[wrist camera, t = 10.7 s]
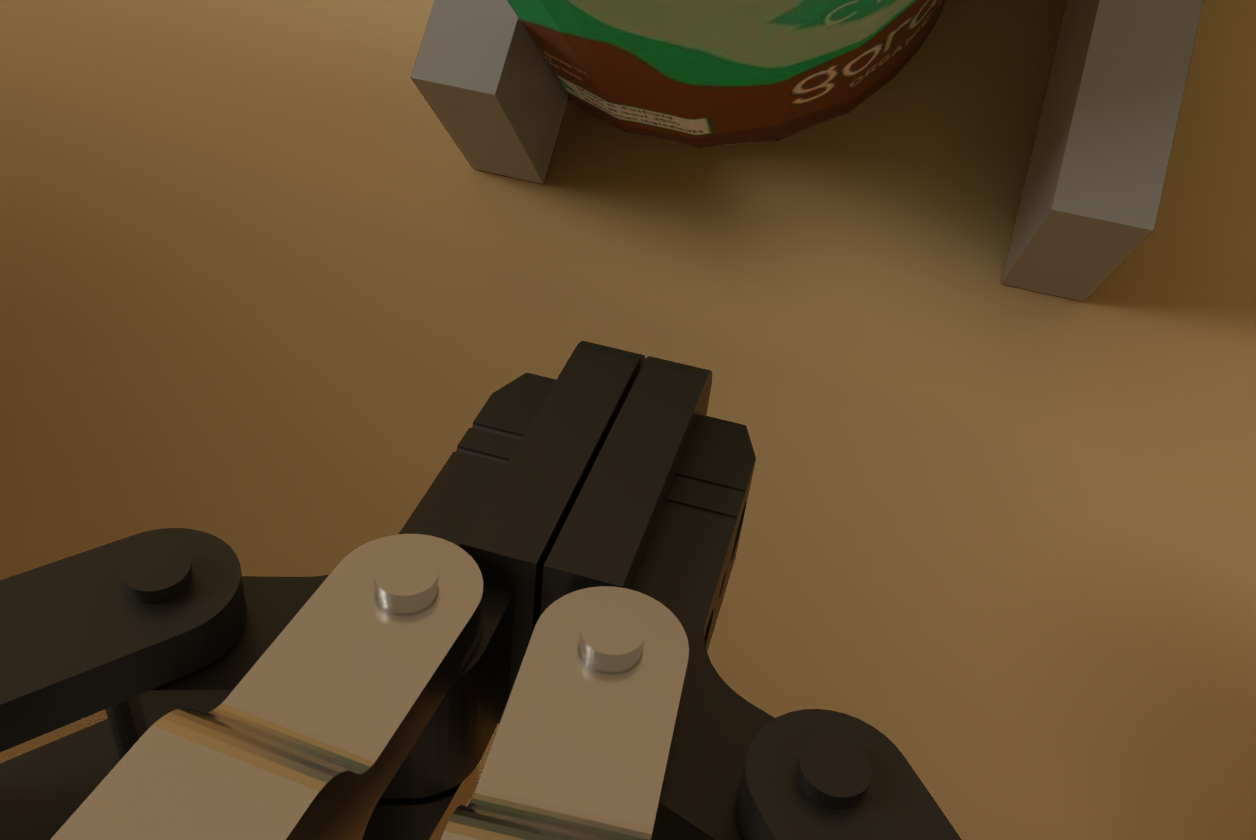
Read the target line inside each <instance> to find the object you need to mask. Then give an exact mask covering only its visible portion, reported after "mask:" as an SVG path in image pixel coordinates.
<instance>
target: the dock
mask: <svg viewBox="0 0 1256 840" xmlns="http://www.w3.org/2000/svg"><path fill="white" fill-rule="evenodd" d="M1203 1H1204V0H1067V4H1066V8H1065V13H1064V17H1063V21H1062V25H1061V30H1060V34H1059V38H1058V43H1057V47H1056V51H1055V55H1054V60H1053V64H1052V68H1051V72H1050V77H1049V81H1048V85H1047V90H1046V94H1045V98H1044V102H1043V107H1042V111H1041V115H1040V119H1039V124H1038V128H1037V132H1036V137H1035V141H1034V145H1033V149H1032V154H1031V158H1030V162H1029V166H1028V171H1027V175H1026V179H1025V183H1024V188H1023V192H1022V196H1021V201H1020V205H1019V209H1018V213H1017V218H1016V222H1015V226H1014V230H1013V235H1012V239H1011V243H1010V248H1009V252H1008V256H1007V260H1006V265H1005V269H1004V273H1003V277H1002V282H1001V284H1004V285H1008V286H1013V287H1018V288H1022V289H1027V290H1031V291H1036V292H1040V293H1045V294H1050V295H1054V296H1059V297H1063V298H1068V299H1073V300H1077V301H1082V302H1084V301H1085V300H1086V299H1087V298H1088V297H1089V296H1090V295H1091V294H1092V293H1093V292H1094V291H1095V290H1096V289H1097V288H1098V287H1099V286H1100V285H1101V284H1102V283H1103V282H1104V281H1105V280H1106V279H1107V278H1108V277H1109V275H1110V274H1111V273H1112V272H1113V271H1114V270H1115V269H1116V268H1117V267H1118V266H1119V265H1120V264H1121V263H1122V262H1123V261H1124V260H1125V259H1126V258H1127V257H1128V256H1129V255H1130V254H1131V253H1132V252H1133V251H1134V250H1135V249H1136V248H1137V247H1138V246H1139V245H1140V244H1141V243H1142V242H1143V241H1144V240H1145V239H1146V238H1147V237H1148V236H1149V235H1150V234H1151V233H1152V232H1153V231H1154V227H1155V222H1156V217H1157V213H1158V208H1159V204H1160V199H1161V194H1162V190H1163V185H1164V181H1165V176H1166V171H1167V167H1168V162H1169V158H1170V153H1171V148H1172V144H1173V139H1174V135H1175V130H1176V126H1177V121H1178V116H1179V112H1180V107H1181V103H1182V98H1183V93H1184V89H1185V84H1186V80H1187V75H1188V70H1189V66H1190V61H1191V57H1192V52H1193V47H1194V43H1195V38H1196V34H1197V29H1198V24H1199V20H1200V15H1201V11H1202V6H1203ZM411 79H412V80H413V82H414V83H415V85H416V86H417V88H418V89H419V91H420V92H421V94H422V95H423V96H424V98H425V99H426V101H427V102H428V104H429V105H430V107H431V108H432V110H433V111H434V113H435V114H436V115H437V117H438V118H439V120H440V121H441V123H442V124H443V126H444V127H445V129H446V130H447V132H448V133H449V134H450V136H451V137H452V139H453V140H454V142H455V143H456V145H457V146H458V148H459V149H460V151H461V152H462V153H463V155H464V156H465V158H466V159H467V161H468V162H469V164H470V165H471V167H472V168H473V169H476V170H481V171H486V172H490V173H495V174H499V175H504V176H508V177H513V178H518V179H522V180H527V181H531V182H536V183H541V184H544V180H545V177H546V174H547V170H548V167H549V163H550V160H551V157H552V153H553V150H554V146H555V143H556V139H557V136H558V133H559V129H560V126H561V122H562V119H563V115H564V112H565V109H566V105H567V102H568V98H569V94H568V92H567V91H566V89H565V88H564V86H563V84H562V83H561V81H560V80H559V78H558V77H557V75H556V74H555V72H554V71H553V69H552V68H551V66H550V65H549V63H548V62H547V60H546V59H545V57H544V56H543V54H542V53H541V51H540V50H539V48H538V47H537V45H536V44H535V42H534V41H533V39H532V38H531V36H530V35H529V33H528V32H527V30H526V29H525V27H524V26H523V24H522V23H521V21H520V20H519V18H518V16H517V15H516V13H515V12H514V10H513V9H512V7H511V6H510V4H509V3H508V1H507V0H435V1H434V4H433V7H432V10H431V14H430V17H429V20H428V23H427V26H426V30H425V33H424V36H423V39H422V42H421V46H420V49H419V52H418V55H417V58H416V62H415V65H414V68H413V71H412V75H411Z"/></svg>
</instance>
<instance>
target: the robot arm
mask: <svg viewBox="0 0 1256 840" xmlns="http://www.w3.org/2000/svg"><path fill="white" fill-rule="evenodd" d="M711 383H712V371H710V370H706V369H701V368H697V367H693V366H689V365H684V364H680V363H676V362H672V361H667V360H663V359H659V358H655V357H650V356H649V357H647V359H646V358H645V355H641V354H637V353H632V352H628V351H624V350H620V349H615V348H611V347H607V346H603V345H598V344H594V343H590V342H586V341H581V342H580V343H579V344H578V345H577V347H576V348H575V350H574V352H573V353H572V355H571V357H570V358H569V360H568V362H567V363H566V365H565V367H564V368H563V370H562V372H561V373H560V375H559V377H558V379H557V380H555V379H551V378H546V377H542V376H538V375H534V374H530V373H525V374H524V375H522V376H520V377H519V378H517V379H515V380H514V381H512V382H510V383H509V384H507V385H506V386H504V387H502V388H501V389H499V390H497V391H496V392H494V393H492V395H491V396H490V398H489V399H488V401H487V402H486V404H485V405H484V407H483V408H482V410H481V411H480V413H479V414H478V416H477V417H476V419H475V420H474V422H473V426H472V428H469V429H468V431H467V432H466V434H465V435H464V437H463V438H462V440H461V441H460V443H459V444H458V447H457V451H456V452H453V453H452V455H451V456H450V458H449V459H448V461H447V462H446V464H445V465H444V467H443V468H442V470H441V471H440V473H439V474H438V476H437V477H436V479H435V480H434V482H433V483H432V485H431V486H430V488H429V489H428V491H427V492H426V494H425V495H424V497H423V498H422V500H421V501H420V503H419V504H418V506H417V507H416V509H415V510H414V512H413V513H412V515H411V516H410V518H409V520H408V521H407V523H406V524H405V526H404V527H403V529H402V530H401V532H400V533H399V534H398V535H391V536H386V537H382V538H378V539H376V540H373V541H370V542H368V543H366V544H364V545H362V546H360V547H358V548H356V549H355V550H353V551H352V552H351V553H349V554H348V555H347V556H346V557H345V558H344V559H343V560H342V561H341V562H340V563H339V564H338V565H337V566H336V568H335V569H334V570H333V571H332V572H331V574H330V575H324V576H318V577H244V576H242V575H241V568H240V563H239V560H238V558H237V556H236V554H235V552H234V551H233V550H232V549H231V547H230V546H229V545H227V544H226V543H225V542H224V541H222V540H221V539H219V538H217V537H215V536H213V535H211V534H208V533H205V532H202V531H197V530H192V529H182V528H169V529H158V530H152V531H147V532H143V533H140V534H136V535H133V536H130V537H127V538H124V539H121V540H118V541H115V542H112V543H109V544H106V545H103V546H100V547H98V548H95V549H92V550H89V551H86V552H83V553H80V554H77V555H74V556H71V557H68V558H65V559H62V560H59V561H56V562H53V563H51V564H48V565H45V566H42V567H39V568H36V569H33V570H30V571H27V572H24V573H21V574H18V575H15V576H12V577H9V578H7V579H4V580H1V581H0V752H2V751H4V750H7V749H9V748H12V747H14V746H17V745H19V744H21V743H24V742H26V741H29V740H31V739H34V738H36V737H38V736H41V735H43V734H46V733H48V732H51V731H53V730H55V729H58V728H60V727H63V726H65V725H67V724H70V723H72V722H75V721H77V720H80V719H82V718H84V717H87V716H89V715H92V714H94V713H97V712H99V711H101V710H104V709H105V710H106V714H107V717H108V719H107V720H104V721H102V722H99V723H97V724H95V725H92V726H90V727H87V728H85V729H83V730H80V731H78V732H75V733H73V734H71V735H68V736H66V737H63V738H61V739H59V740H56V741H54V742H51V743H49V744H47V745H44V746H42V747H39V748H37V749H35V750H32V751H30V752H27V753H25V754H23V755H20V756H18V757H15V758H13V759H11V760H8V761H6V762H3V763H1V764H0V840H961V838H960V837H959V835H958V834H957V832H956V831H955V829H954V828H953V827H952V825H951V824H950V822H949V821H948V819H947V818H946V816H945V815H944V814H943V812H942V811H941V809H940V808H939V806H938V805H937V803H936V802H935V801H934V799H933V798H932V796H931V795H930V793H929V792H928V790H927V789H926V787H925V786H924V785H923V783H922V782H921V780H920V779H919V777H918V776H917V774H916V773H915V772H914V770H913V769H912V767H911V766H910V764H909V763H908V761H907V760H906V759H905V757H904V756H903V754H902V753H901V752H900V751H899V749H898V748H897V747H896V746H895V745H894V744H893V743H892V742H891V741H890V740H889V739H888V738H887V737H886V736H885V735H884V734H882V733H881V732H879V731H878V730H877V729H875V728H874V727H872V726H871V725H869V724H867V723H865V722H863V721H861V720H860V719H857V718H855V717H852V716H849V715H847V714H844V713H839V712H835V711H831V710H821V709H807V710H799V711H794V712H790V713H787V714H784V715H782V716H779V717H777V718H774V717H772V716H771V715H769V714H767V713H766V712H764V711H762V710H761V709H759V708H757V707H756V706H754V705H752V704H751V703H749V702H748V701H746V700H745V699H744V698H742V697H741V696H739V695H738V694H737V693H736V692H734V691H733V690H732V689H731V688H730V687H729V686H728V685H727V684H726V683H725V682H724V681H723V679H722V678H721V677H720V676H719V675H718V673H717V672H716V670H715V668H714V667H713V665H712V664H711V661H710V659H709V656H708V654H707V651H708V647H709V644H710V641H711V637H712V634H713V631H714V627H715V623H716V620H717V617H718V614H719V611H720V607H721V604H722V600H723V597H724V593H725V590H726V587H727V584H728V580H729V577H730V574H731V570H732V567H733V564H734V560H735V556H736V551H737V547H738V542H739V537H740V532H741V527H742V523H743V518H744V513H745V508H746V503H747V499H748V494H749V489H750V484H751V479H752V475H753V470H754V465H755V460H756V457H755V454H754V450H753V447H752V444H751V441H750V437H749V434H748V431H747V428H746V425H742V424H738V423H733V422H729V421H725V420H721V419H717V418H713V417H709V416H706V414H707V408H708V402H709V396H710V390H711ZM497 723H499V724H500V725H499V727H498V730H497V733H496V736H495V738H494V741H493V744H492V747H491V750H490V752H489V755H488V758H487V761H486V763H485V766H484V769H483V772H482V774H481V777H480V780H479V783H478V785H477V788H476V791H475V793H474V796H473V798H472V800H471V802H470V803H469V805H468V806H466V804H467V803H468V801H469V799H470V797H471V795H472V793H473V791H474V789H475V787H476V784H477V780H478V775H479V761H480V760H481V758H482V756H483V753H484V751H485V749H486V747H487V745H488V743H489V741H490V738H491V736H492V734H493V732H494V730H495V728H496V726H497Z"/></svg>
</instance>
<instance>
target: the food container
mask: <svg viewBox="0 0 1256 840" xmlns="http://www.w3.org/2000/svg"><path fill="white" fill-rule="evenodd" d="M507 1H508V3H509V4H510V6H511V7H512V9H513V10H514V12H515V13H516V15H517V16H518V18H519V20H520V21H521V23H522V24H523V26H524V27H525V29H526V30H527V32H528V33H529V35H530V36H531V38H532V39H533V41H534V42H535V44H536V45H537V47H538V48H539V50H540V51H541V53H542V54H543V56H544V57H545V59H546V60H547V62H548V63H549V65H550V66H551V68H552V69H553V71H554V72H555V74H556V75H557V77H558V78H559V80H560V81H561V83H562V84H563V86H564V88H565V89H566V91H567V92H568V94H569V95H570V97H571V98H572V100H573V101H574V103H575V104H576V106H578V107H580V108H582V109H584V110H586V111H588V112H590V113H591V114H593V115H595V116H597V117H599V118H601V119H603V120H605V121H606V122H608V123H610V124H612V125H614V126H616V127H618V128H620V129H621V130H623V131H626V132H630V133H635V134H640V135H644V136H649V137H654V138H658V139H663V140H668V141H672V142H677V143H681V144H686V145H691V146H695V147H710V146H722V145H734V144H746V143H758V142H769V141H778V140H780V139H783V138H786V137H788V136H791V135H793V134H796V133H798V132H801V131H803V130H806V129H808V128H811V127H813V126H816V125H818V124H821V123H823V122H826V121H828V120H831V119H833V118H836V117H838V116H841V115H843V114H846V113H848V112H850V111H851V110H852V109H854V108H855V107H856V106H857V105H859V104H860V103H861V102H863V101H864V100H865V99H866V98H868V97H869V96H870V95H872V94H873V93H874V92H875V91H877V90H878V89H879V88H881V87H882V86H883V85H884V84H886V83H887V82H888V81H890V80H891V79H892V78H893V77H895V76H896V75H897V74H898V72H899V71H900V70H901V69H902V68H903V67H904V66H905V64H906V63H907V62H908V61H909V60H910V59H911V57H912V56H913V55H914V54H915V53H916V52H917V51H918V49H919V48H920V47H921V45H922V44H923V42H924V40H925V39H926V37H927V35H928V34H929V32H930V31H931V29H932V27H933V26H934V24H935V22H936V21H937V19H938V17H939V15H940V13H941V11H942V8H943V6H944V3H945V1H946V0H507Z"/></svg>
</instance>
